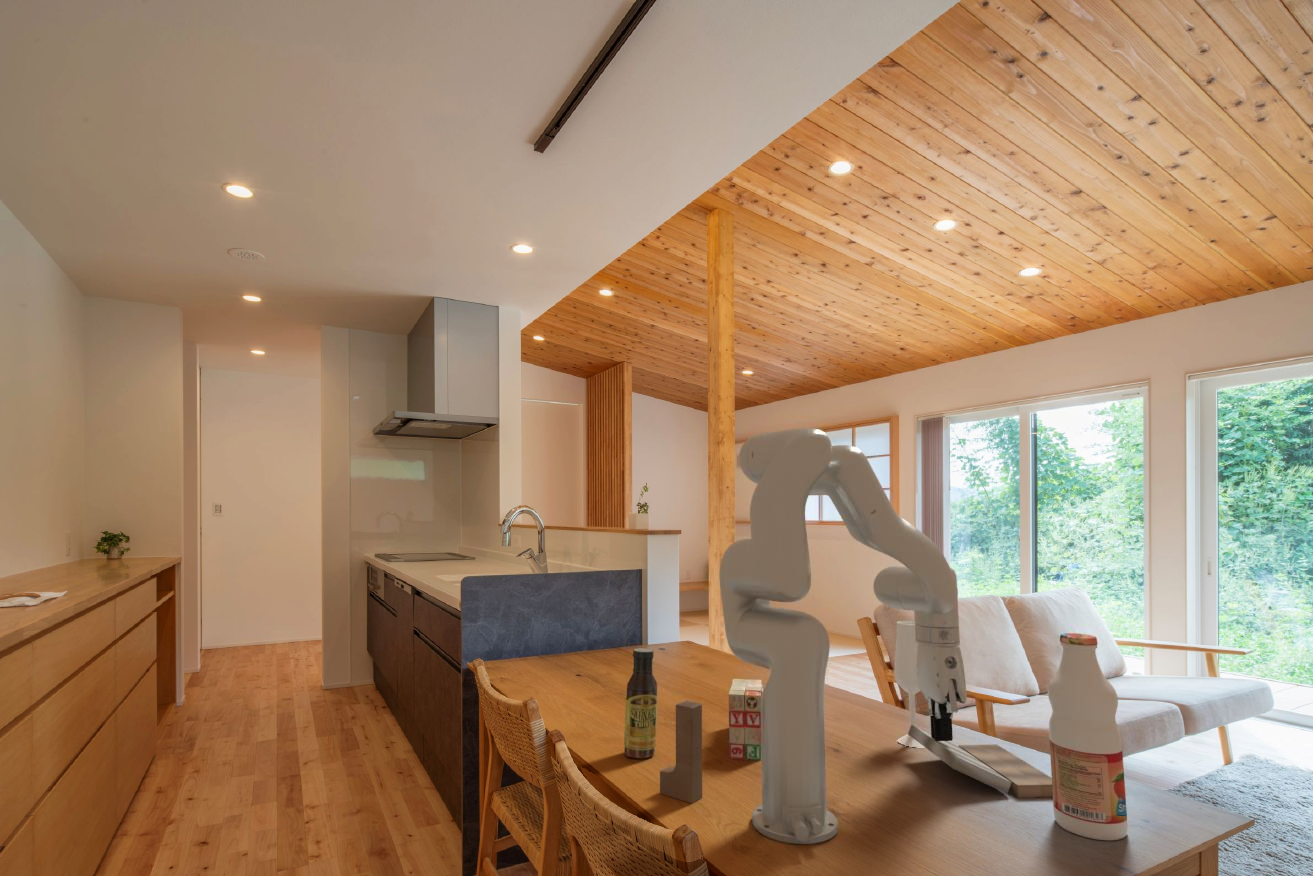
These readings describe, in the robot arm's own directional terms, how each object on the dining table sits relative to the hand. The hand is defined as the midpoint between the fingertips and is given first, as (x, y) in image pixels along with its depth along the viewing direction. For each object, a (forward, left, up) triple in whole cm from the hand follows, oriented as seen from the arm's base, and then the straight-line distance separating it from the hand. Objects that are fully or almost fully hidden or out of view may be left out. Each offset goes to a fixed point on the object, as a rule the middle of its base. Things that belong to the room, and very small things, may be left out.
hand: (942, 739), depth 124 cm
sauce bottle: (+14, +54, -7) cm, 56 cm away
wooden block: (-6, +48, -7) cm, 48 cm away
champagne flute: (+18, -2, -7) cm, 19 cm away
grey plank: (0, -2, -4) cm, 4 cm away
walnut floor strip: (0, -12, -6) cm, 13 cm away
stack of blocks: (+21, +31, -7) cm, 38 cm away
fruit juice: (-21, -12, -7) cm, 25 cm away
